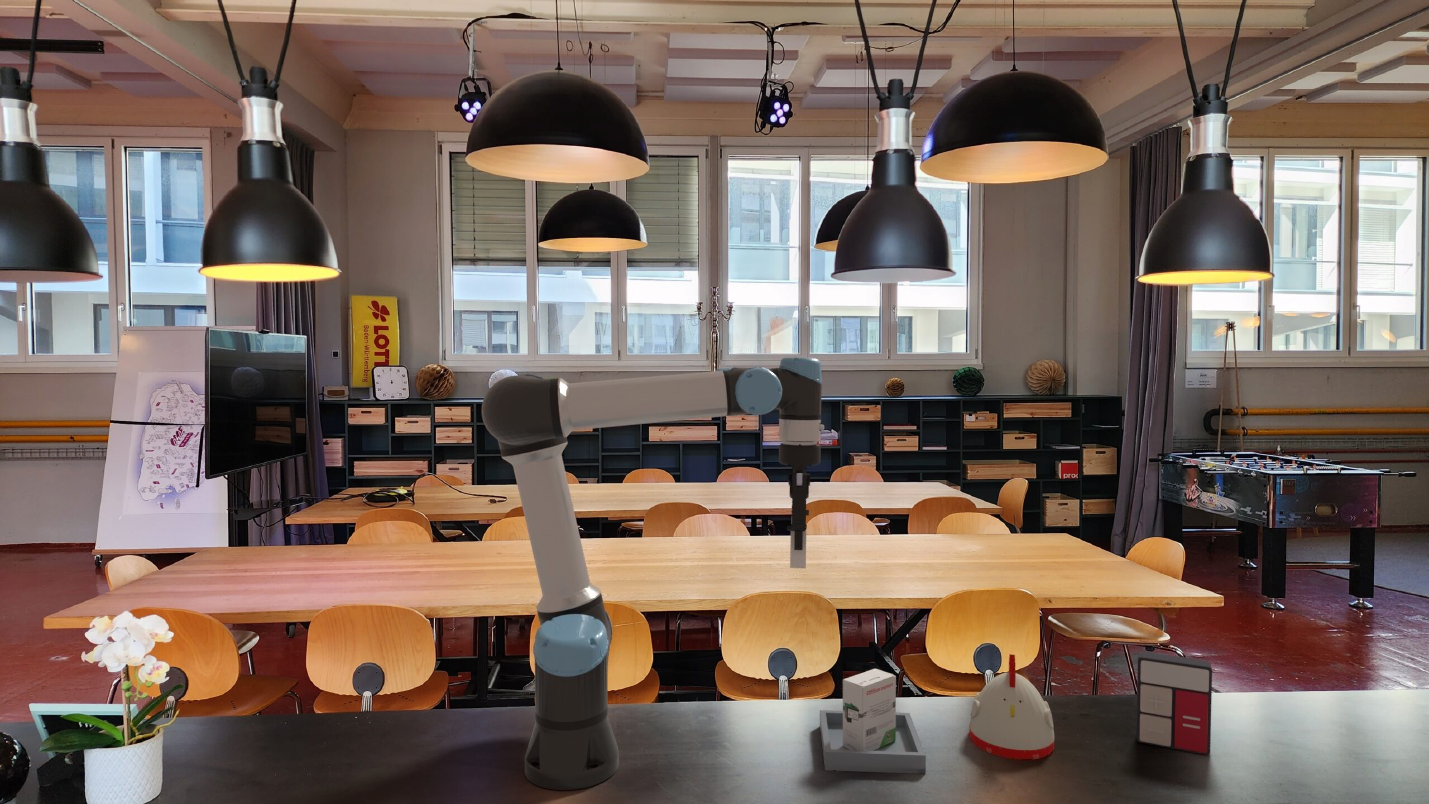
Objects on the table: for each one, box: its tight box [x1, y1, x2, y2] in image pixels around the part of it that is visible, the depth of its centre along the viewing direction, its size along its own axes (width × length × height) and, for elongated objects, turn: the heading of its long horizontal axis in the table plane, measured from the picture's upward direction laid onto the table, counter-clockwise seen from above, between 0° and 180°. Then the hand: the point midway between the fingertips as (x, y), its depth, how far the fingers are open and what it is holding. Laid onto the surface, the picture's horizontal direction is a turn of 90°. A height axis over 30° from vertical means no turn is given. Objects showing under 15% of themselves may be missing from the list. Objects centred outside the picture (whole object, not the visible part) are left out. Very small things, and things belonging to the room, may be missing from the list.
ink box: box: [842, 668, 897, 751], centre depth 138 cm, size 9×5×12 cm, turn 127°
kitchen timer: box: [968, 653, 1055, 760], centre depth 141 cm, size 14×14×15 cm
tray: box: [819, 709, 927, 775], centre depth 138 cm, size 16×16×3 cm
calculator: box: [1135, 651, 1213, 756], centre depth 138 cm, size 11×4×15 cm, turn 62°
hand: (798, 558), depth 147 cm, fingers open, 13 cm apart
